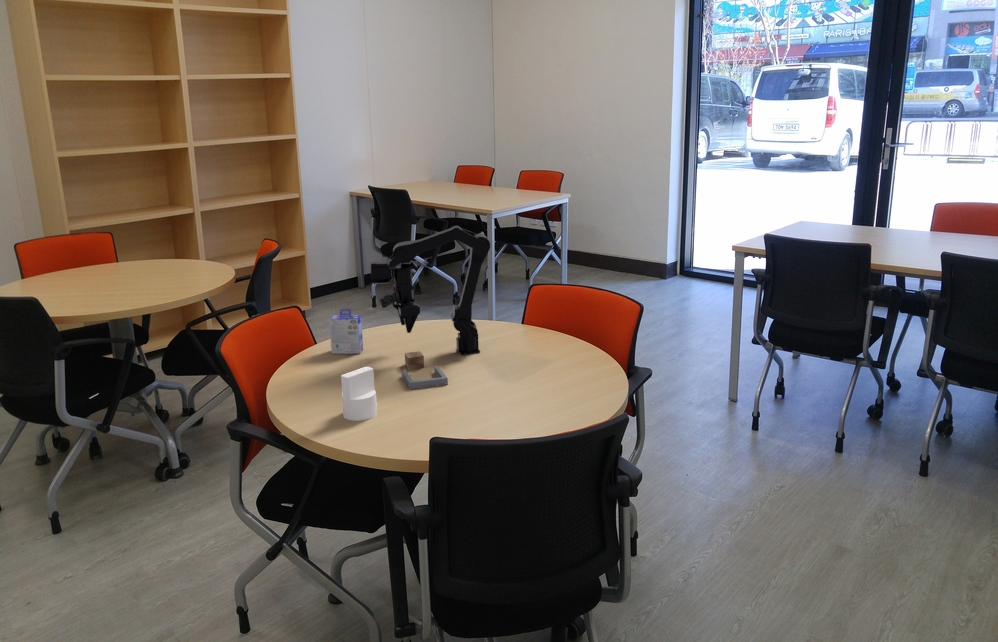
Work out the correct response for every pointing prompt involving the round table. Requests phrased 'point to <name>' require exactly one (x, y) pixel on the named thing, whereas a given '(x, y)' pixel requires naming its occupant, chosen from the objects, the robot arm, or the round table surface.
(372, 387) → the cylinder with rectangular tab
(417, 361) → the walnut block
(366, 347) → the round table surface
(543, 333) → the round table surface
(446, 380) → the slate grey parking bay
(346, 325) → the ink cartridge box
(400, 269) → the robot arm
